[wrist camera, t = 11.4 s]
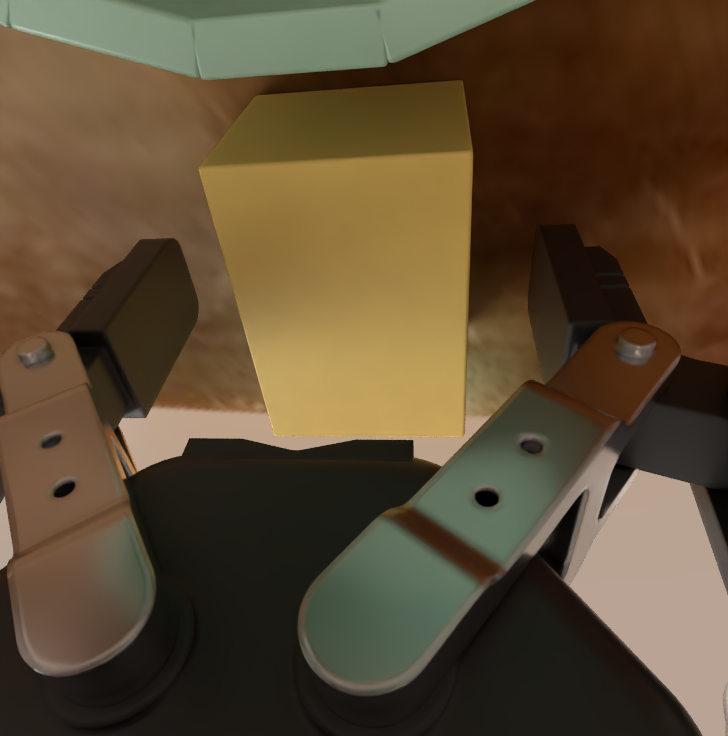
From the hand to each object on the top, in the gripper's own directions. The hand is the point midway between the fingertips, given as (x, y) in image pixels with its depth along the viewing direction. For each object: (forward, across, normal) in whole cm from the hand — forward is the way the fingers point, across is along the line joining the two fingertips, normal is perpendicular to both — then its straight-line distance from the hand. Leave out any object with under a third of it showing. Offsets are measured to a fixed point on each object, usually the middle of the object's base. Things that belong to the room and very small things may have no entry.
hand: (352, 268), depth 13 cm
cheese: (+2, 0, 0) cm, 2 cm away
